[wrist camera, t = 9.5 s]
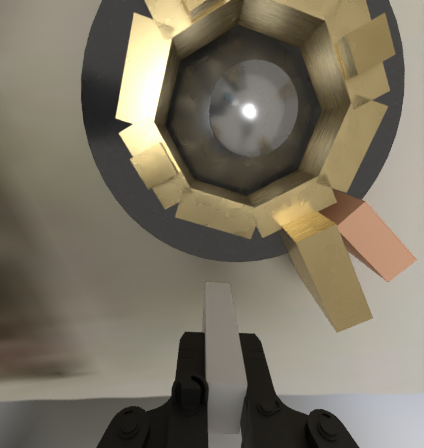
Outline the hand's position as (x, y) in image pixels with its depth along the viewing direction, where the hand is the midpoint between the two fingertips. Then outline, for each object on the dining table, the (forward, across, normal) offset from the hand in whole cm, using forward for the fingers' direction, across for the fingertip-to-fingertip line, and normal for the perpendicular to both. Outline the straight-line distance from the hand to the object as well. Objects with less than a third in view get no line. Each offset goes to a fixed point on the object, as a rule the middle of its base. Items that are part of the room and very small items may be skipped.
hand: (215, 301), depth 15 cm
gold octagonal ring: (+7, +3, +8) cm, 11 cm away
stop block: (+9, +11, +4) cm, 14 cm away
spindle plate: (+9, +2, +11) cm, 14 cm away
